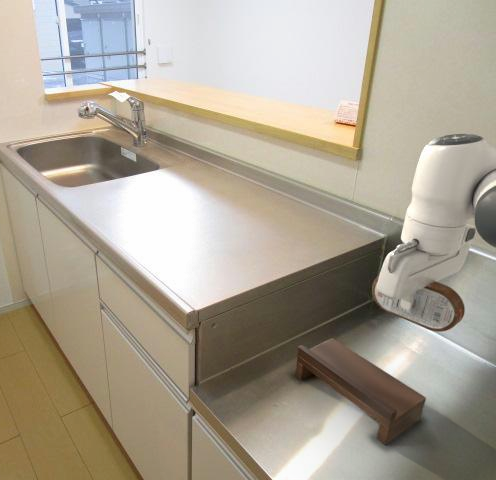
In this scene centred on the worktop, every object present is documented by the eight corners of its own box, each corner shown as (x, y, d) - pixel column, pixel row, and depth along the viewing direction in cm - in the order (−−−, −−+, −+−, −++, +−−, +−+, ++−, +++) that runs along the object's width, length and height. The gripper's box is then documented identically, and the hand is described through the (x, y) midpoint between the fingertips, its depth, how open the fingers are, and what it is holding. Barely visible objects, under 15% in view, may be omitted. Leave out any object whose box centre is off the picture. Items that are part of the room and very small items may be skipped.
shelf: (329, 357, 94) (333, 329, 91) (420, 419, 79) (429, 388, 76) (294, 375, 89) (298, 346, 86) (384, 445, 74) (392, 413, 71)
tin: (458, 334, 77) (472, 291, 74) (451, 341, 75) (465, 297, 72) (373, 300, 88) (382, 261, 84) (365, 305, 86) (374, 265, 82)
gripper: (412, 255, 67) (394, 332, 73) (483, 226, 77) (462, 296, 83) (375, 241, 72) (361, 313, 78) (447, 215, 82) (429, 281, 88)
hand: (414, 304), depth 80 cm, fingers closed on tin, 3 cm apart
